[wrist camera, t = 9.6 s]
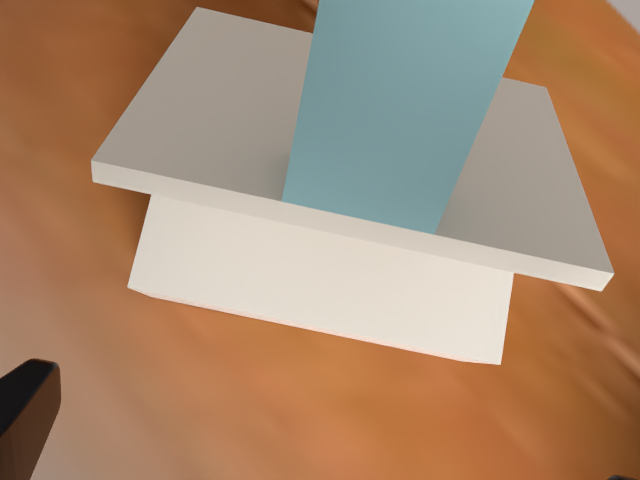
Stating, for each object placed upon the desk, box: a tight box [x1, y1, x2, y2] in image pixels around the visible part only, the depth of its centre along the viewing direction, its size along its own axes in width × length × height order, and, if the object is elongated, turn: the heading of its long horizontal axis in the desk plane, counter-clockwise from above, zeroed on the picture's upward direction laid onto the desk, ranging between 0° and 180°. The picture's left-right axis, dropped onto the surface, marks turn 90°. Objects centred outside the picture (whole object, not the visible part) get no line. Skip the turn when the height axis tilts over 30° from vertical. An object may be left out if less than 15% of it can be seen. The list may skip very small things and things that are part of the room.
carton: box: [127, 195, 514, 365], centre depth 22 cm, size 9×12×4 cm
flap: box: [91, 0, 614, 291], centre depth 15 cm, size 9×12×7 cm
